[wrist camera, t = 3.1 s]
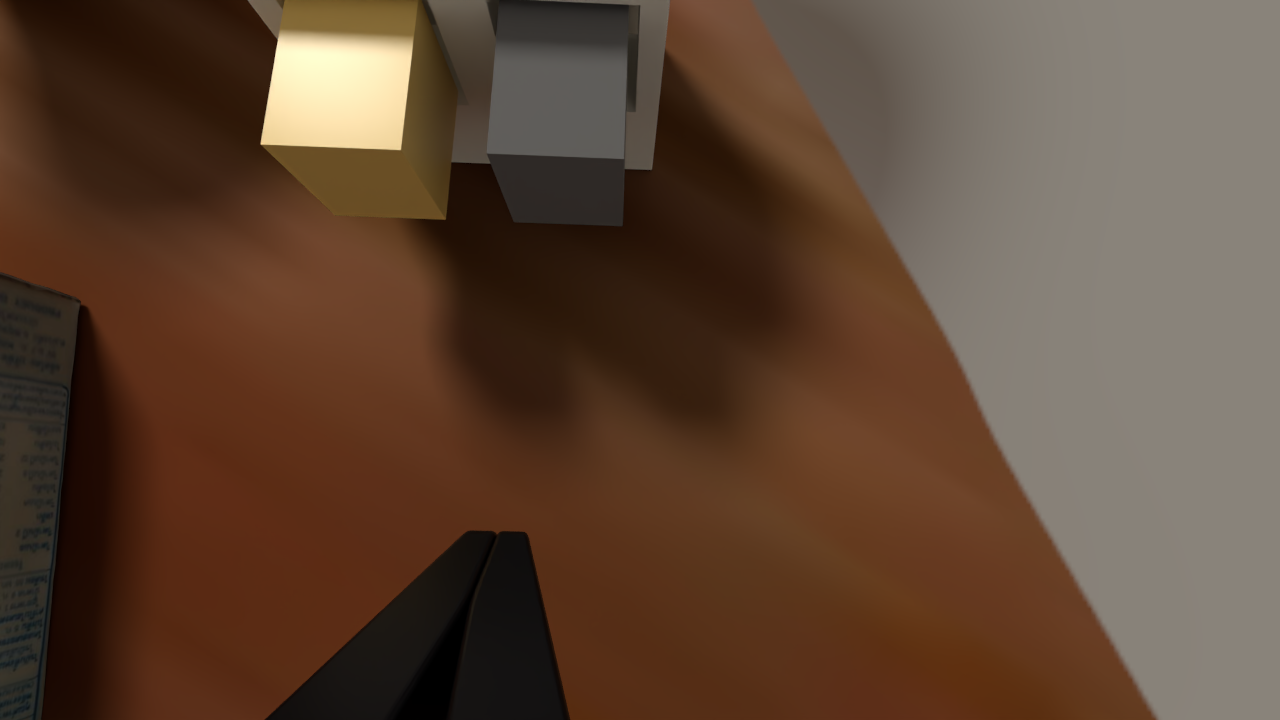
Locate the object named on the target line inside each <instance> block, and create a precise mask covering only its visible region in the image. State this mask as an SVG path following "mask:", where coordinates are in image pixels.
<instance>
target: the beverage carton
mask: <svg viewBox="0 0 1280 720" xmlns="http://www.w3.org/2000/svg"><path fill="white" fill-rule="evenodd" d="M80 303H81V301H80V300H79V299H77V298H76V297H73V296H69V295H67V294H64V293H61V292H58V291H56V290H53V289H50V288H47V287H44V286H40V285H37V284H33V283H30V282H27V281H24V280H22V279H19V278H16V277H13V276H11V275H8V274H4V273H1V272H0V720H41V715H42V707H43V698H44V687H45V674H46V660H47V647H48V636H49V626H50V615H51V604H52V590H53V578H54V572H55V565H56V552H57V541H58V529H59V515H60V499H61V487H62V482H63V467H64V459H65V451H66V439H67V427H68V415H69V403H70V390H71V379H72V371H73V364H74V354H75V345H76V335H77V323H78V314H79V309H80Z"/></svg>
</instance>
